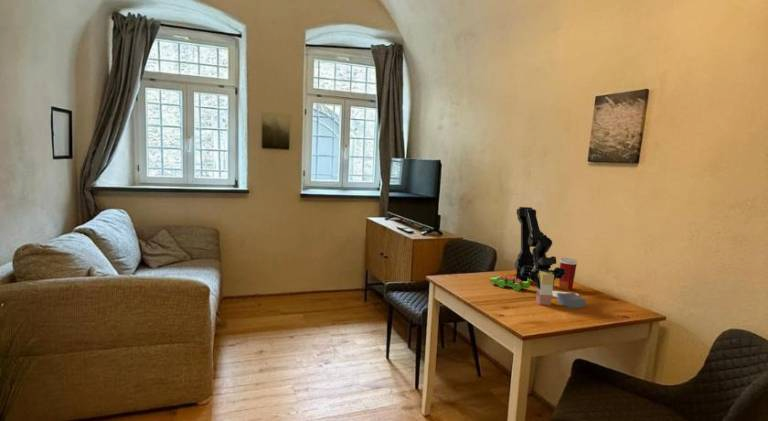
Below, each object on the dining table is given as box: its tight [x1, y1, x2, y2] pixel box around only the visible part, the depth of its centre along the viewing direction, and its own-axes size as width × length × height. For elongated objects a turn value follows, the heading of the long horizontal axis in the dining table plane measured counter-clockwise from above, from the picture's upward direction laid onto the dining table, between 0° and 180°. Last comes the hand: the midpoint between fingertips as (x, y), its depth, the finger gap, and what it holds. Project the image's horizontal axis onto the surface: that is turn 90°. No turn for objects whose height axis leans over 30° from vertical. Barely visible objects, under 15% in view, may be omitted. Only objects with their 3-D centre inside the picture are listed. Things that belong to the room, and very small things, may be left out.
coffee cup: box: [558, 257, 578, 291], centre depth 210 cm, size 8×8×15 cm
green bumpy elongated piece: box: [489, 275, 532, 292], centre depth 208 cm, size 20×7×6 cm, turn 60°
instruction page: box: [552, 290, 580, 298], centre depth 200 cm, size 12×9×1 cm
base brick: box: [556, 292, 586, 309], centre depth 188 cm, size 8×8×4 cm
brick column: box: [535, 271, 555, 306], centre depth 187 cm, size 5×5×14 cm
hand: (545, 289), depth 185 cm, fingers closed on brick column, 5 cm apart
